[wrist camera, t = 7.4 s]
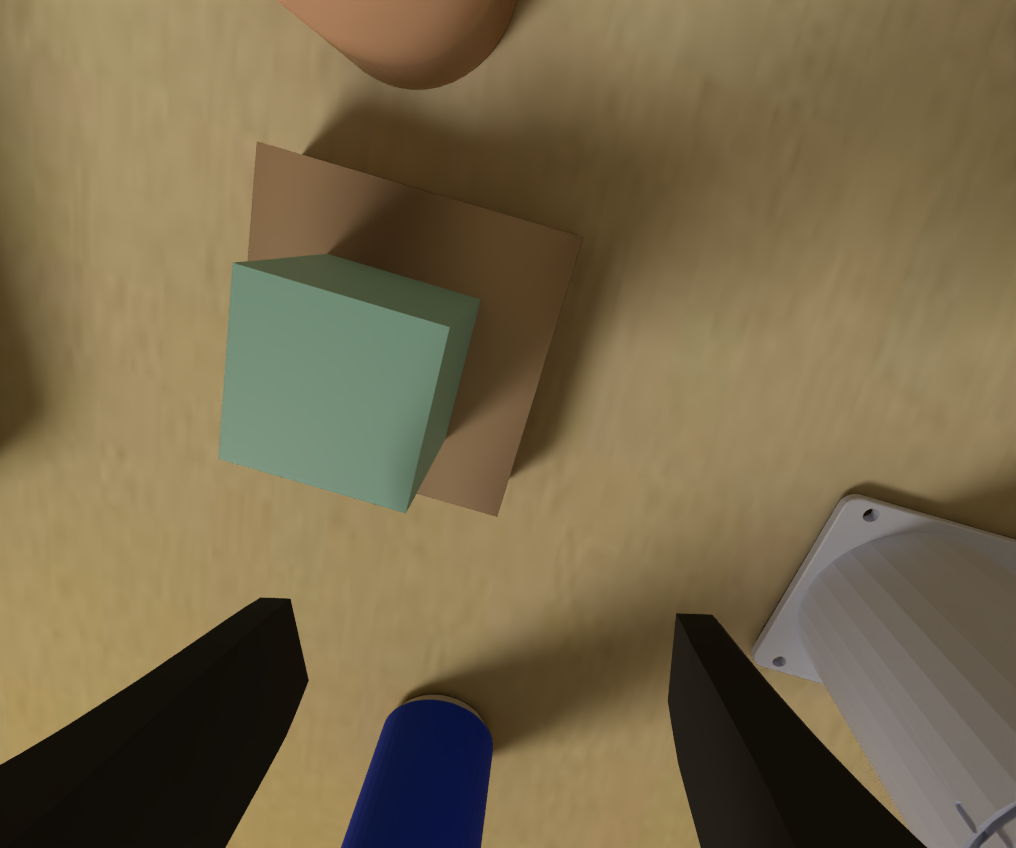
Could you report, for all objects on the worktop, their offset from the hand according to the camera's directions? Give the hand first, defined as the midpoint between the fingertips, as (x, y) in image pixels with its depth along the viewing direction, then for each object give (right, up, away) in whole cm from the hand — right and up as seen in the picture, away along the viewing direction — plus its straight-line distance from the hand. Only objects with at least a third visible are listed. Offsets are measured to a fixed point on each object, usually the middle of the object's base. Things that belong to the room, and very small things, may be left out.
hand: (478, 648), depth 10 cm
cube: (-3, +6, +6) cm, 9 cm away
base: (-3, +7, +8) cm, 11 cm away
